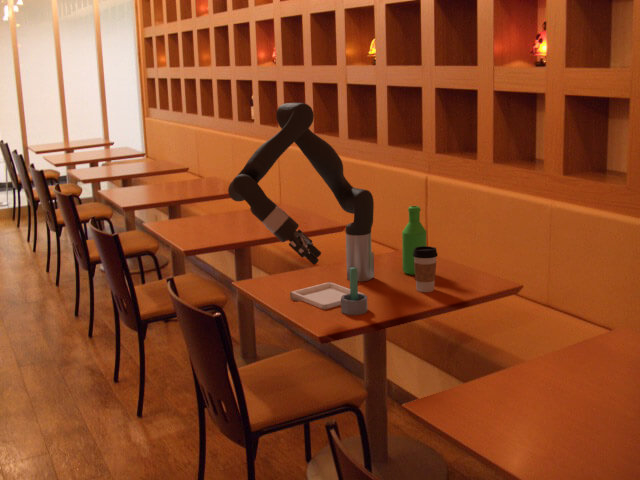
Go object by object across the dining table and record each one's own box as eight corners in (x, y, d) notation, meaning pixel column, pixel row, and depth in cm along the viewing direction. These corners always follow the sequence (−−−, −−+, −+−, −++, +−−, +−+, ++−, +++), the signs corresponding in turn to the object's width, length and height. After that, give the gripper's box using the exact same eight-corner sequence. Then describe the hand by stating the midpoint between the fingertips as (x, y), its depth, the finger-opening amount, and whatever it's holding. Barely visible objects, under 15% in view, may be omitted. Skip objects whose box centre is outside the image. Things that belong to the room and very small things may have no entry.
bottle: (426, 269, 297) (426, 204, 291) (426, 275, 288) (426, 208, 282) (402, 269, 298) (402, 204, 292) (402, 275, 289) (402, 209, 283)
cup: (356, 307, 256) (355, 291, 254) (372, 314, 249) (372, 297, 248) (336, 313, 251) (336, 297, 250) (352, 319, 245) (352, 303, 243)
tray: (330, 288, 277) (329, 281, 276) (364, 301, 262) (364, 294, 261) (290, 298, 267) (290, 291, 266) (324, 312, 252) (323, 305, 252)
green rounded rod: (355, 309, 251) (353, 266, 248) (359, 310, 250) (358, 268, 246) (349, 310, 250) (348, 268, 247) (353, 312, 248) (352, 269, 245)
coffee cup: (422, 294, 266) (422, 252, 263) (408, 288, 274) (407, 246, 270) (442, 290, 270) (442, 248, 267) (428, 284, 277) (428, 243, 274)
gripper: (285, 220, 237) (324, 256, 239) (291, 210, 251) (328, 245, 253) (268, 237, 239) (307, 273, 241) (275, 227, 253) (312, 261, 255)
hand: (318, 259), depth 247 cm, fingers open, 8 cm apart
